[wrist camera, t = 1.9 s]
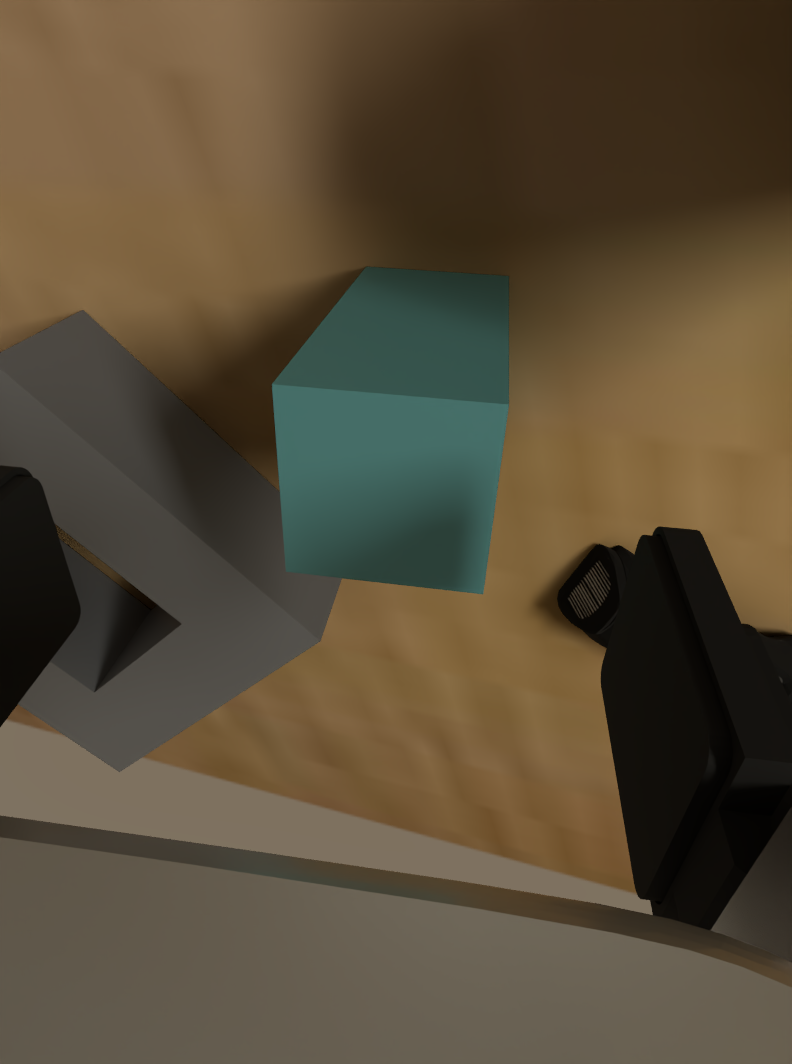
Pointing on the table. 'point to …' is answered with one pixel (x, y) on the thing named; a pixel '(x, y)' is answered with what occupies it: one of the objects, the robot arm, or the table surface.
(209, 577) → the socket
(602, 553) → the electric trimmer
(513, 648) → the table surface
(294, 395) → the peg
